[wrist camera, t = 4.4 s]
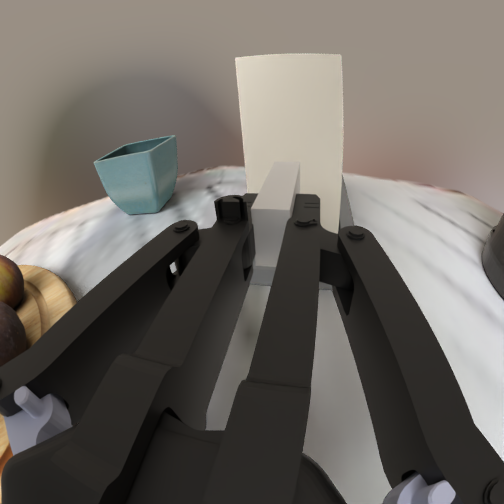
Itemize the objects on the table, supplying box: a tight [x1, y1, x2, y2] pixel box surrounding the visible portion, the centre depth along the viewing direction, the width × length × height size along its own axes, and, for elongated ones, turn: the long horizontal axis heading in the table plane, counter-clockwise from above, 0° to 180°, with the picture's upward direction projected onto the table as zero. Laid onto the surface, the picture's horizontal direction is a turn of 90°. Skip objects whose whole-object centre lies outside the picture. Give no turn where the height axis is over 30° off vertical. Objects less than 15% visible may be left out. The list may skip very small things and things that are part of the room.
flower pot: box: [94, 135, 178, 215], centre depth 35 cm, size 9×9×9 cm
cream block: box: [235, 54, 343, 234], centre depth 21 cm, size 7×6×15 cm
